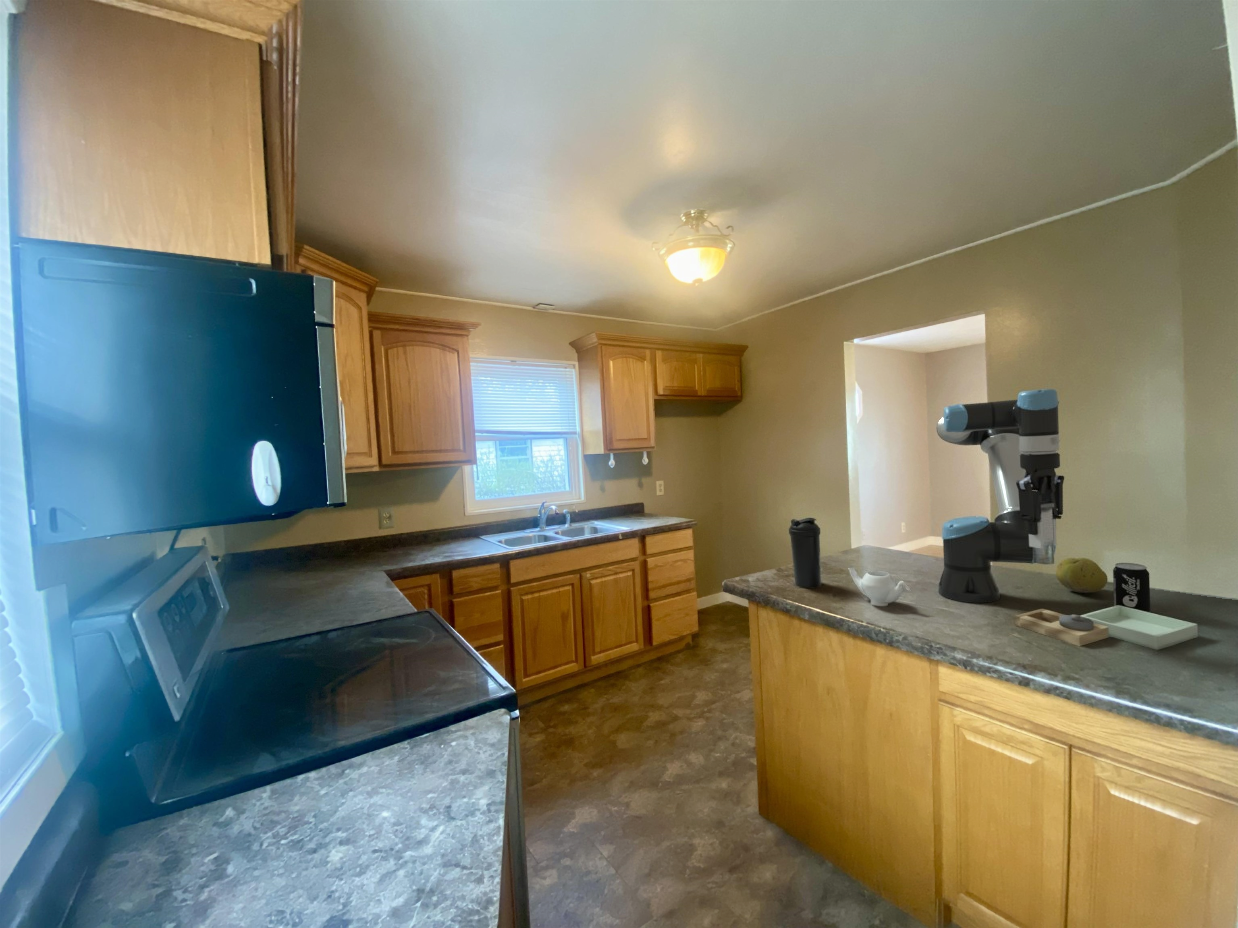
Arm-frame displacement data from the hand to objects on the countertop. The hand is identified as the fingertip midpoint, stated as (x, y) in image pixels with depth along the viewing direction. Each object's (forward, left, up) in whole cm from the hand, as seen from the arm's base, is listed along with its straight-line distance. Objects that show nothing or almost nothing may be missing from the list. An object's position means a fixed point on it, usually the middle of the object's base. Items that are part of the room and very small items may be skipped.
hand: (1042, 545), depth 124 cm
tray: (+11, +13, -21) cm, 27 cm away
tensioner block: (+3, 0, -21) cm, 21 cm away
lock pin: (0, 0, -4) cm, 4 cm away
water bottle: (-58, -26, -21) cm, 67 cm away
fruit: (-11, +32, -21) cm, 40 cm away
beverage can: (+3, +27, -21) cm, 34 cm away
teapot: (-32, -21, -21) cm, 43 cm away
